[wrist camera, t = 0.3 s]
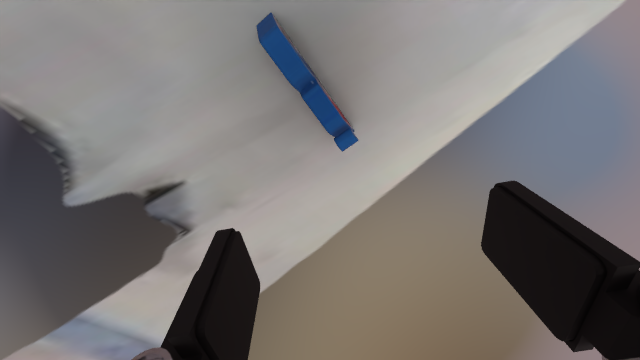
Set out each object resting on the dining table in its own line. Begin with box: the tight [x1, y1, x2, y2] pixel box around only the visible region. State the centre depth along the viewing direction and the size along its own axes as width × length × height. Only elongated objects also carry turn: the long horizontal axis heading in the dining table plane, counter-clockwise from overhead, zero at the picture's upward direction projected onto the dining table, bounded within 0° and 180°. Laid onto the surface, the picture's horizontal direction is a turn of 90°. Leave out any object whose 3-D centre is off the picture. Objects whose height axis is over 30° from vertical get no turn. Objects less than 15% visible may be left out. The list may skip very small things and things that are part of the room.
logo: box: [257, 13, 358, 151], centre depth 32 cm, size 18×2×10 cm, turn 36°
